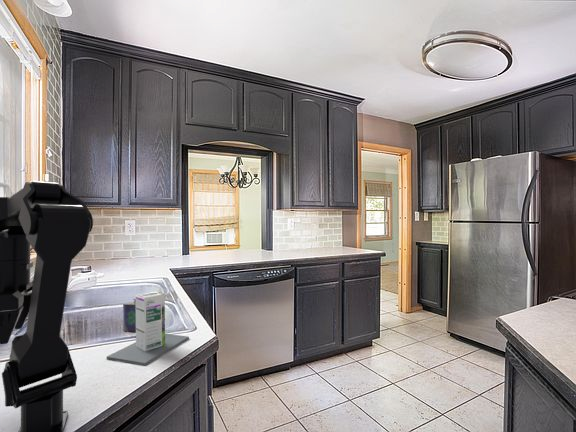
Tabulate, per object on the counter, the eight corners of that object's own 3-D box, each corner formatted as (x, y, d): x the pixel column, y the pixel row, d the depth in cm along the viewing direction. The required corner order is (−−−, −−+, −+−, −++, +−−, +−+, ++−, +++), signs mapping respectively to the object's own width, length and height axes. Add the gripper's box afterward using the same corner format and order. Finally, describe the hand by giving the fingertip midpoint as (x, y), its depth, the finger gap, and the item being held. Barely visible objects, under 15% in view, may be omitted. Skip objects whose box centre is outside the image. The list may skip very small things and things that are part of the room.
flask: (121, 332, 100) (121, 298, 100) (127, 328, 103) (128, 295, 103) (146, 334, 98) (146, 300, 98) (152, 331, 101) (152, 297, 101)
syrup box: (144, 352, 83) (145, 297, 83) (135, 346, 87) (135, 293, 87) (165, 345, 87) (165, 293, 88) (155, 340, 91) (155, 290, 91)
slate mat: (144, 365, 77) (144, 363, 77) (106, 359, 81) (106, 356, 81) (188, 338, 94) (188, 336, 94) (155, 334, 98) (155, 332, 98)
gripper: (-22, 256, 69) (-23, 328, 69) (-68, 268, 53) (-69, 362, 52) (41, 254, 74) (41, 320, 74) (17, 264, 58) (17, 349, 58)
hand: (11, 335), depth 64 cm, fingers open, 9 cm apart
